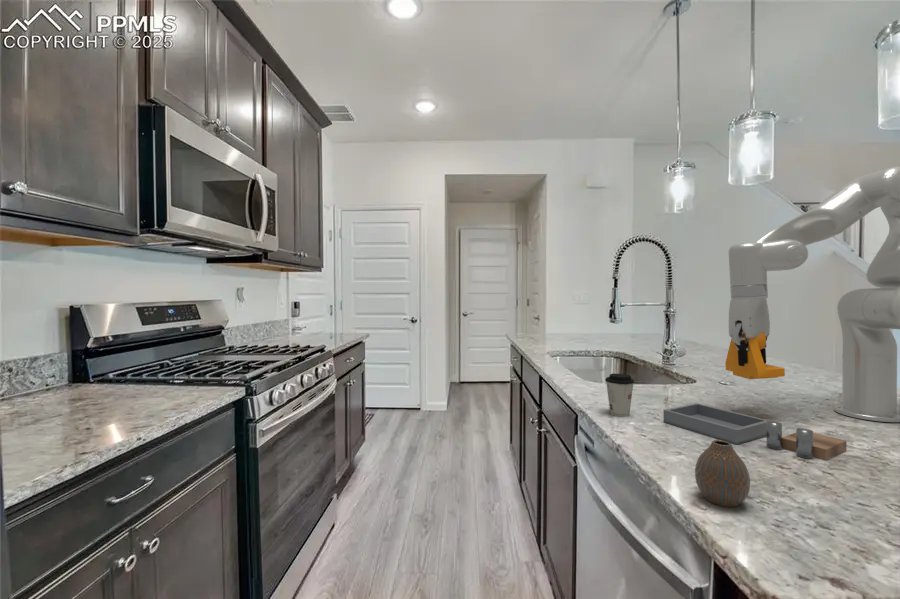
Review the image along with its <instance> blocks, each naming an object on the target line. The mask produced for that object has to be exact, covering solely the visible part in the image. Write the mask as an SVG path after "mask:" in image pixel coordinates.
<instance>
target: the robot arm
mask: <svg viewBox="0 0 900 599" xmlns="http://www.w3.org/2000/svg"><path fill="white" fill-rule="evenodd" d="M877 208H880V210H881V211H882V213H883V214H884V217H885V219H886V222H887V223H888V227H889V229H888V230H889V231H888V234H887V236H886V238H885V239H884V242H883V243H882V245H881V246H880V248H879V250H878V251H877V252H876V254H875V256H874V258H873V259H872V261H871V263H870V264H869V266H868V268H867V271H866V279H867V281H868V283H869V284H871V285H872V286H875V287H876V288H875V287H874V288H872V287H871V288H857V289H854V290H850V291H849V292H846V293H845V294H843V295H841V297H840V299H839V300H838V301H837V302H838V303H837V308H836V309H837V315H838V319H839V323H840V327H841V333H842V390H841V391H842V394H841V395H842V403H838V404H835V405H833V410H834V411H835V412H836V413H839V414H840V415H843V416H848V417H851V418H854V419H859V420H865V421H866V420H867V421H873V422H874V421H875V422H882V423H900V411H898V344H897V340H896V339H895V337H894V335H893V332H892V330H900V165H897V166H892V167H891V166H890V167H888V168H885V169H880V170H878V171H874V172H870V173H867V174H863V175H861V176H858V177H856V178H854V179H851V181H849V182H847V183H846V184H844V185H843V186H841V187H840V188H839V189H837V190H836V191H834V192H833V193H832V194H830V195H829V196H828V197H826V198H825V199H824V200H822V201H821V202H819V203H818V204H817V205H815V206H814V207H812V208H811V209H810V210H809V209H808V210H807V211H806V212H803V213H802V214H800V215H797V216H796V217H794V218H792V219H791V220H788V221H787V222H786V223H783V224H782V225H780V226H778V227H775V228H774V229H773V230H771V231H770V232H767V234H765V235H763V236H762V237H761V238H760V239H758V240H757V241H755V242H746V243H739V244H734V245H731V246H730V247H729V249H728V265H729V266H728V267H729V270H728V271H729V286H730V302H729V307H728V308H729V309H728V336H729V337H730V338H731V339H732V341H733V342H734V343H735V345H736V349H737V350H738V364H739V366H744V364H746V363H747V362H748V357H747V351H749V342H748V341H750V339H752V338H755V337H758V336H759V335H760V334H761V333H762V332H763V333H764V334H765V337H766V342H767V340H768V337H769V335H770V332H771V330H770V329H771V326H770V325H771V323H770V322H771V321H770V313H769V306H768V300H767V298H769V294H768V293H769V292H768V275H767V274H768V273H767V272H776V271H777V272H780V271H790V270H794V269H797V268H799V267H800V266H802V265H803V264H804V263H805V262H806V261H807V259H808V256H809V250H808V248H807V246H809V245H811V244H815V243H818V242H821V241H825V240H828V239H830V238H832V237H835V236H838V235H840V234H841V233H843V232H845V231H846V230H847V229H848V228H851V226H853V225H854V224H856V223H857V222H858V221H860V220H861V219H863V218H864V217H866V216H867V215H868V214H870V213H871V212H872V211H874V210H876V209H877ZM891 329H892V330H891ZM744 334H746V337H747V338H748V340H747V338H743V337H742V335H744ZM731 339H730V340H731ZM742 340H747V343H745V342H744V341H742ZM767 347H768V346H767V344H766V345H765V347H764V348H763V349H761V350H760V352H761V355H762V358H763V361H764V364H767V350H766V348H767Z"/></svg>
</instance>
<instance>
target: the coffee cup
mask: <svg viewBox="0 0 900 599" xmlns="http://www.w3.org/2000/svg"><path fill="white" fill-rule="evenodd" d="M604 381H606V390H607V396H608V397H607V398H608V406H609V413H610V415H612V416H615V417H621V418H622V417H624V418H625V417H629V416H631V415H630V414H631V407H632V406H631V404H632V398H633V390H634V384H635V380H634V379H633V378H632V375H630V374H625V373H610V374H609V376H607V377H606V378H605V380H604Z"/></svg>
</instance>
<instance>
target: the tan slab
mask: <svg viewBox="0 0 900 599" xmlns="http://www.w3.org/2000/svg"><path fill="white" fill-rule="evenodd" d="M782 449H784V450H786V451H790V452H794V453H796V432H793V433H791V434H788V435H785V436H782ZM845 452H847V440H844V439H840V438H836V437H834V436H833V437H831V436H828V435H823V434H819V433H816V432H813V458H816V459H820V460H824V461H828V460H830V459H831V460H832V459H833V458H835V457H837V456H839V455H841V454H843V453H845Z"/></svg>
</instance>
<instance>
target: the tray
mask: <svg viewBox="0 0 900 599" xmlns="http://www.w3.org/2000/svg"><path fill="white" fill-rule="evenodd" d="M767 421H770V420H768V419H763V418H760V417H756V416H752V415H748V414H743V413H739V412H735V411H730V410H726V409H722V408H719V407H715V406H714V407H713V406H710V405H706V404H702V403H697V402H696V403H690V404H685V405H681V406H675V407H671V408H666V409H663V423H664V424H668V425H671V426H676V427H678V428H681V429H683V430H684V429H685V430H688V431H691V432H694V433H698V434H700V435H705V436H708V437H711V438H713V439H716V440H722V441H726V442H729V443H731V444H732V445H733V444H734V445H737V446H738V445H742V444H746V443H748V442H752V441H756V440H758V439H762V438H767Z"/></svg>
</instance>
